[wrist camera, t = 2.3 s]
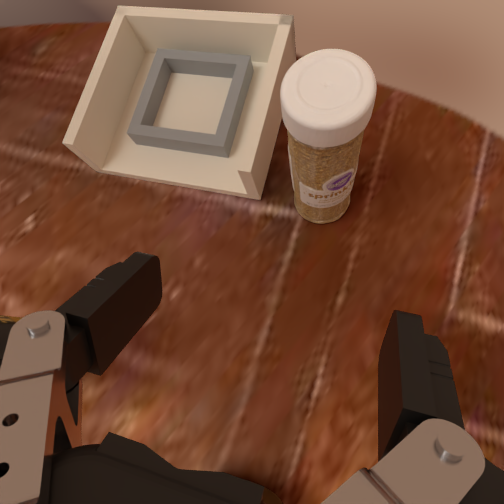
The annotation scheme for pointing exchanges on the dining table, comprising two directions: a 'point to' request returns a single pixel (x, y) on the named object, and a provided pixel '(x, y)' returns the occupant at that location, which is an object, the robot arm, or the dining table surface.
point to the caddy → (186, 98)
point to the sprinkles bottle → (326, 128)
